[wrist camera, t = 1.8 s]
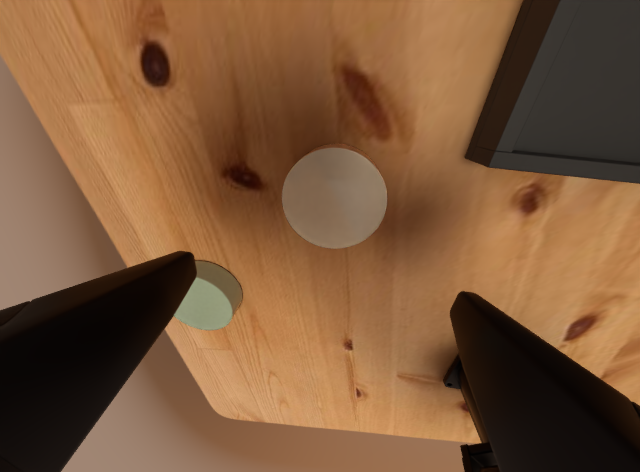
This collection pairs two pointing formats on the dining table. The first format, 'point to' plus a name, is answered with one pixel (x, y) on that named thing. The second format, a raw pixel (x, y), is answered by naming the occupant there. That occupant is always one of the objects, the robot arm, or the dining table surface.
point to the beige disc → (334, 196)
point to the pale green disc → (210, 298)
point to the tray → (566, 93)
